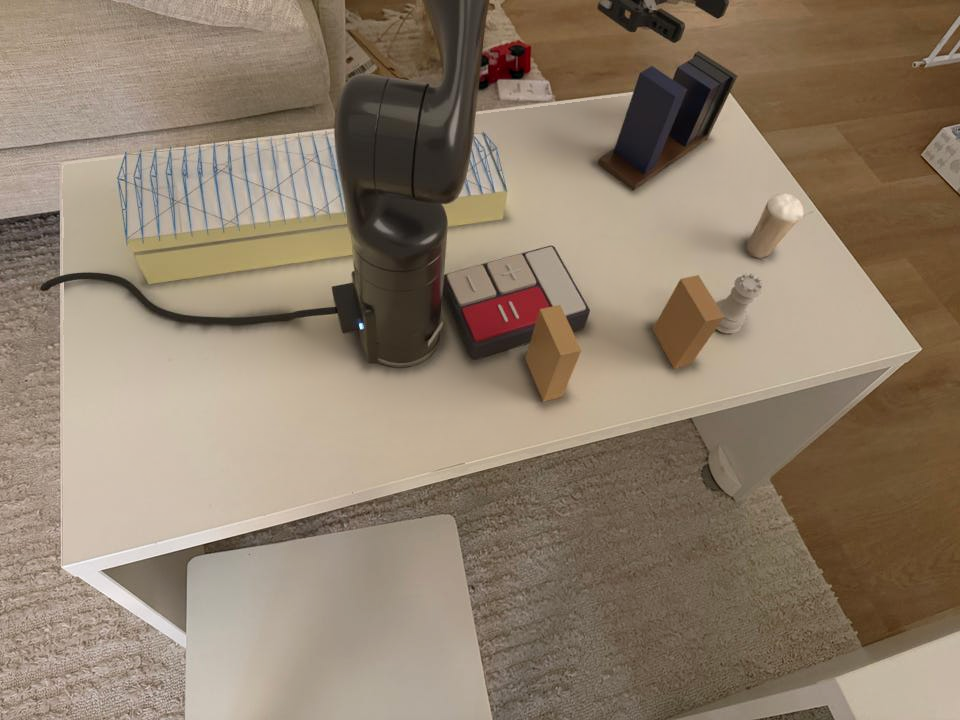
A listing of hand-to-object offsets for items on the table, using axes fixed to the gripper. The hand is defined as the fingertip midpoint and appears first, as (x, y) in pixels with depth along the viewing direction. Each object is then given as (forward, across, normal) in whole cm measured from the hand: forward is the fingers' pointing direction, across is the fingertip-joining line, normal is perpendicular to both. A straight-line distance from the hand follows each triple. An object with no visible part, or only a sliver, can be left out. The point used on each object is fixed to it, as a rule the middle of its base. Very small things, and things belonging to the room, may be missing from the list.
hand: (703, 21), depth 76 cm
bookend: (-3, +7, +24) cm, 25 cm away
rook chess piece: (+23, -11, +24) cm, 35 cm away
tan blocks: (+17, -27, +24) cm, 40 cm away
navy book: (-3, +2, +23) cm, 23 cm away
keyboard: (-22, -39, +24) cm, 51 cm away
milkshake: (+19, +3, +24) cm, 31 cm away
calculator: (+4, -31, +24) cm, 40 cm away
